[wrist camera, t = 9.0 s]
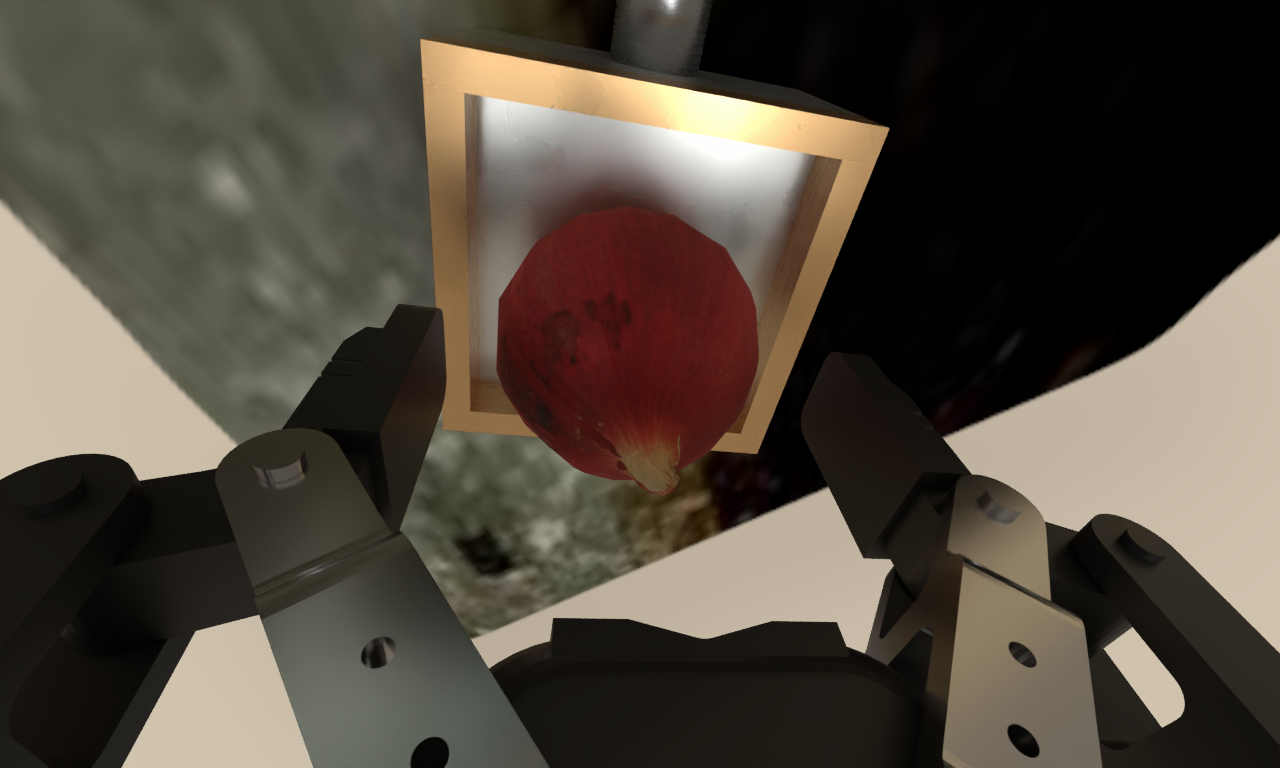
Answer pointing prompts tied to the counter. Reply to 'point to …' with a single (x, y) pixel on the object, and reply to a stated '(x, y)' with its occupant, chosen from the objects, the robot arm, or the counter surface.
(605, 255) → the onion
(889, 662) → the robot arm
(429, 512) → the counter surface
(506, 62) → the wooden tray
